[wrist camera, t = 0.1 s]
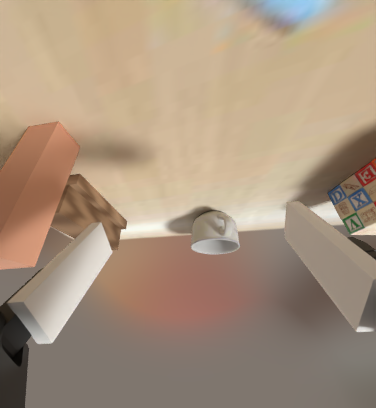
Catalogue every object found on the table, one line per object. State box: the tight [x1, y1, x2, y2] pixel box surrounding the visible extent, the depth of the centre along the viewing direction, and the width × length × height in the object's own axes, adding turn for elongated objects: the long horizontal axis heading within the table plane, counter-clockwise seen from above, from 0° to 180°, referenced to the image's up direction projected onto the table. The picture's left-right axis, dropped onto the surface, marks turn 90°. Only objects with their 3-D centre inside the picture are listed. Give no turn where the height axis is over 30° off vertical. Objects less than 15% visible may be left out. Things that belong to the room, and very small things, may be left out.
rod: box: [0, 122, 80, 269], centre depth 20 cm, size 4×4×16 cm
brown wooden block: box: [50, 174, 127, 250], centre depth 36 cm, size 18×7×7 cm, turn 8°
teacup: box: [191, 211, 240, 254], centre depth 42 cm, size 14×11×8 cm
